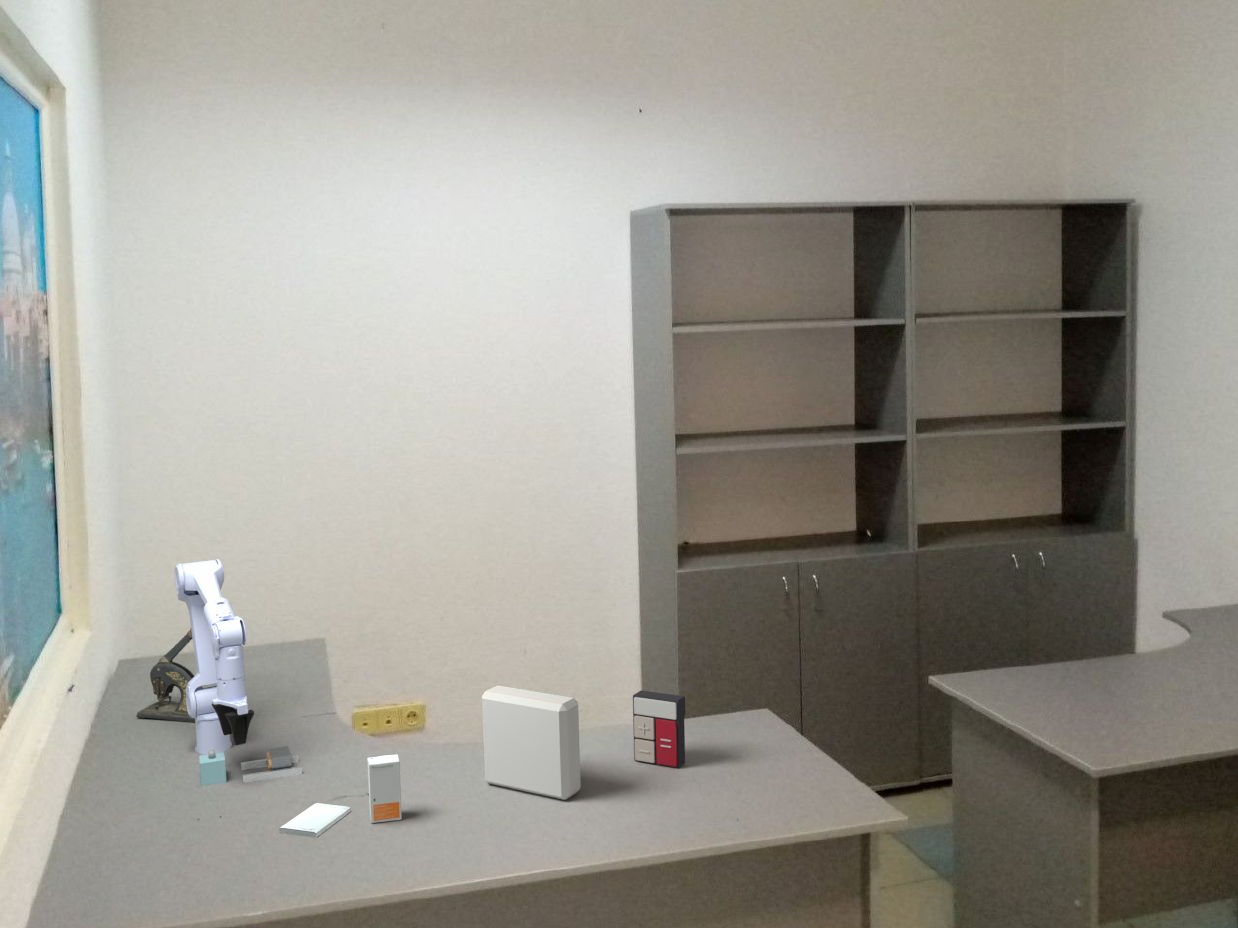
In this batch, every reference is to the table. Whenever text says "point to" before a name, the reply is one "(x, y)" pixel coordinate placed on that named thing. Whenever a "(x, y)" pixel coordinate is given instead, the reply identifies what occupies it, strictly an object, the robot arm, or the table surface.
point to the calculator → (659, 728)
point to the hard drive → (315, 820)
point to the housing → (212, 768)
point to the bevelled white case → (531, 741)
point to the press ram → (279, 758)
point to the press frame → (268, 774)
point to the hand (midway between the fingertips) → (234, 738)
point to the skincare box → (384, 788)
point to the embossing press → (170, 686)
